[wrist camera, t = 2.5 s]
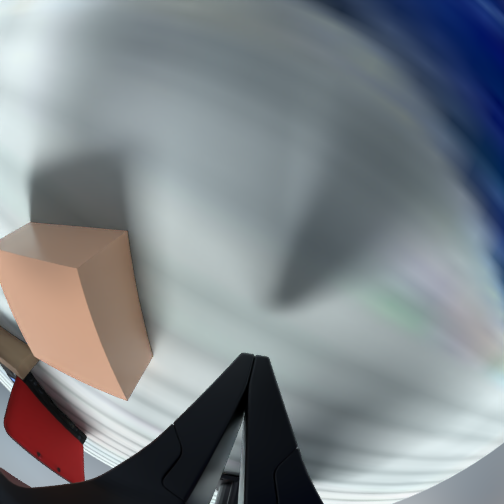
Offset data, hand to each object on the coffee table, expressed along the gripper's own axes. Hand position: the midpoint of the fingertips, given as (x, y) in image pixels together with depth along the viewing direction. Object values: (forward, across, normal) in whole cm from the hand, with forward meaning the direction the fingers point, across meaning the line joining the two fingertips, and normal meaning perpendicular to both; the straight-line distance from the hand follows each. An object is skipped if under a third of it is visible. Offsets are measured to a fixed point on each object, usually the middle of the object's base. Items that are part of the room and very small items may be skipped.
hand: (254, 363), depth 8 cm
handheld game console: (+2, +21, +19) cm, 28 cm away
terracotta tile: (+2, +8, 0) cm, 8 cm away
